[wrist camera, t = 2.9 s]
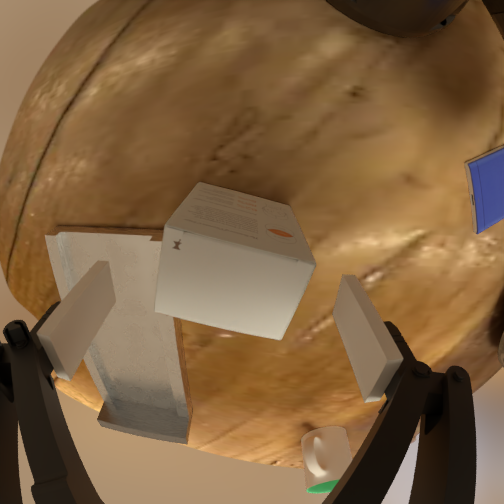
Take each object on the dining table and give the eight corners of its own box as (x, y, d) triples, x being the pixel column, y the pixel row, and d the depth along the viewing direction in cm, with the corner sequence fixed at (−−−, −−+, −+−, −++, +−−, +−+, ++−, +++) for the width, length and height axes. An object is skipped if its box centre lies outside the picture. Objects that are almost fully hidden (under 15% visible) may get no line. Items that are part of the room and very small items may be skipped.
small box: (185, 239, 25) (149, 312, 15) (198, 179, 23) (160, 223, 13) (272, 262, 26) (282, 344, 16) (292, 205, 24) (319, 265, 14)
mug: (279, 430, 39) (283, 485, 30) (324, 413, 37) (334, 471, 28) (313, 449, 43) (320, 495, 34) (352, 434, 41) (363, 481, 32)
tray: (58, 225, 24) (23, 251, 19) (174, 230, 24) (153, 262, 19) (112, 396, 36) (101, 426, 31) (192, 410, 37) (187, 444, 31)
